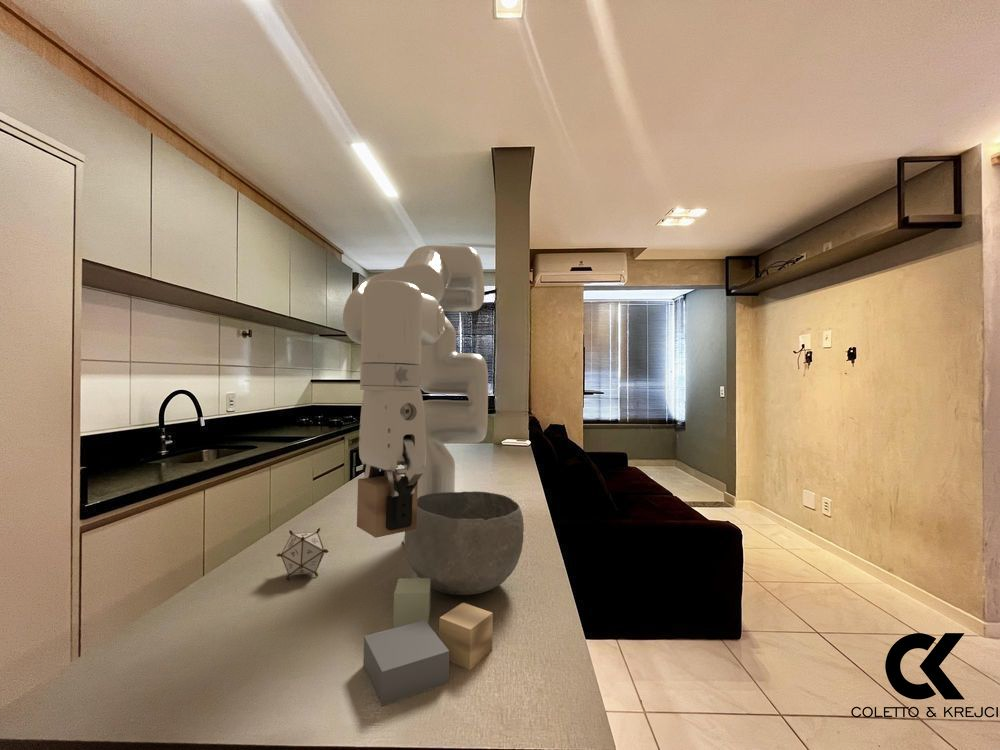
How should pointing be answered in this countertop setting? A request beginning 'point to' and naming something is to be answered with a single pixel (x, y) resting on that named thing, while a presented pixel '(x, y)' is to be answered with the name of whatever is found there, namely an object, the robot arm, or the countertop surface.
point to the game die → (303, 553)
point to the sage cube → (411, 601)
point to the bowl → (465, 540)
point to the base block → (405, 661)
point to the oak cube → (466, 634)
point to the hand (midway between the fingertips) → (387, 520)
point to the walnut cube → (378, 506)
